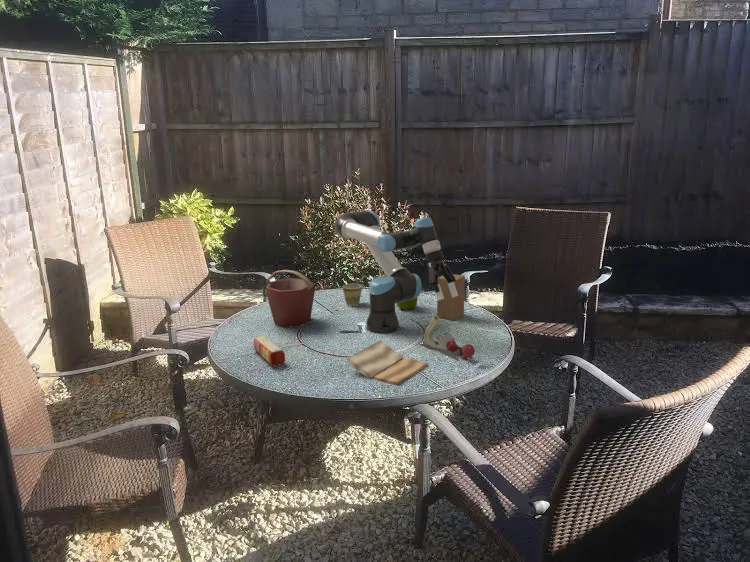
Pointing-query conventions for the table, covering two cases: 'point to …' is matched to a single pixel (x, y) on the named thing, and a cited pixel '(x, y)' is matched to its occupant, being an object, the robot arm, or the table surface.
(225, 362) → the table surface
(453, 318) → the wooden block
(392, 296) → the robot arm
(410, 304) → the apple
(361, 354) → the ash plank
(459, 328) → the table surface
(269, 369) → the table surface
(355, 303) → the ceramic cup
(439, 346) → the hand plane
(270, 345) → the snack package
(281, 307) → the bucket
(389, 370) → the oak plank
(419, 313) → the table surface
